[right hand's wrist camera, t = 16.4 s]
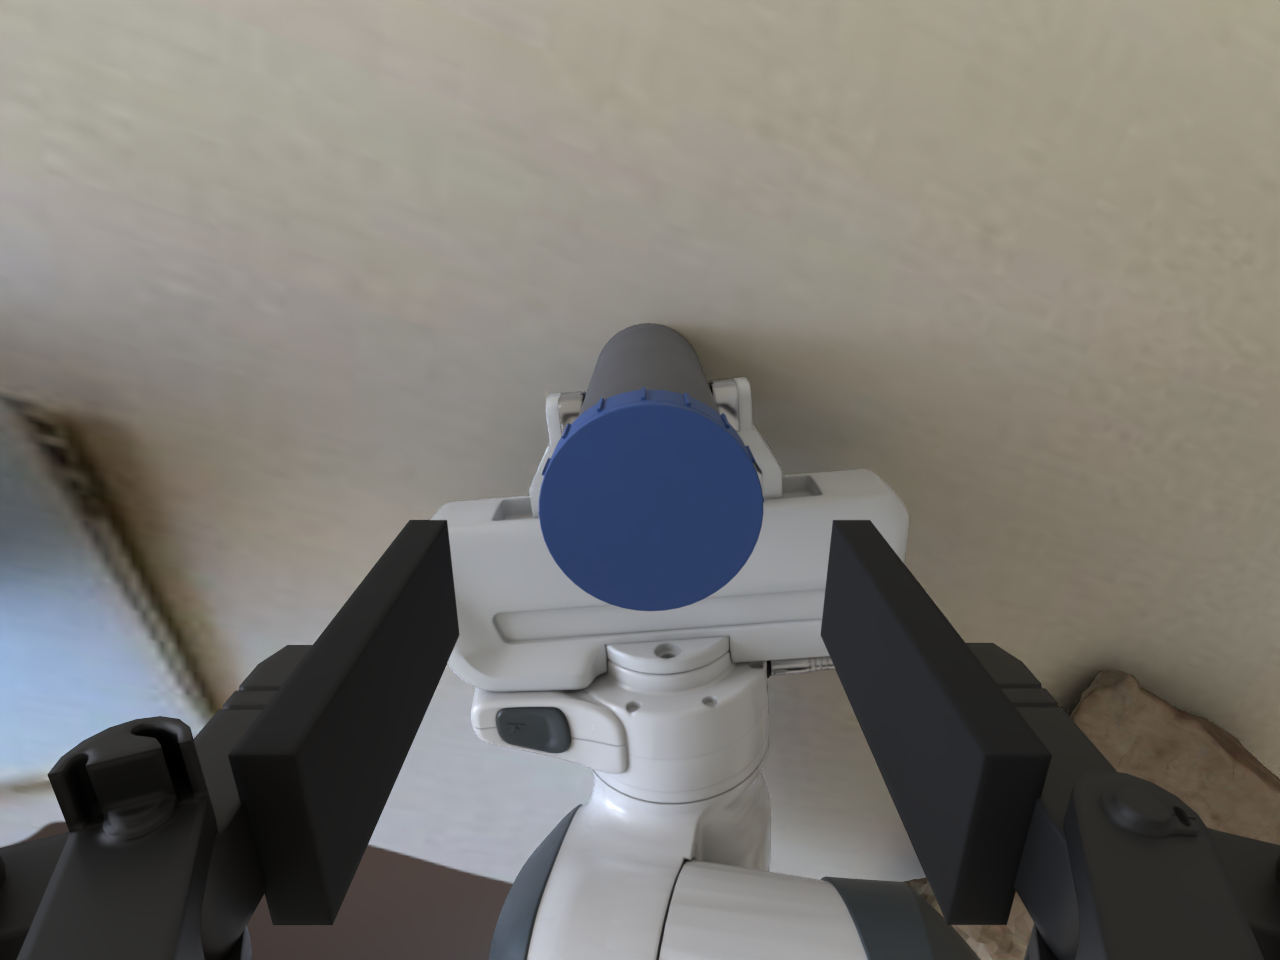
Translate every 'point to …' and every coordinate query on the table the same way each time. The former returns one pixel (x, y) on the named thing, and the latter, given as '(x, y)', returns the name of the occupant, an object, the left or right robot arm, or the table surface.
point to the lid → (650, 501)
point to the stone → (1165, 755)
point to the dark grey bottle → (648, 366)
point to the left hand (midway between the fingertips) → (645, 388)
